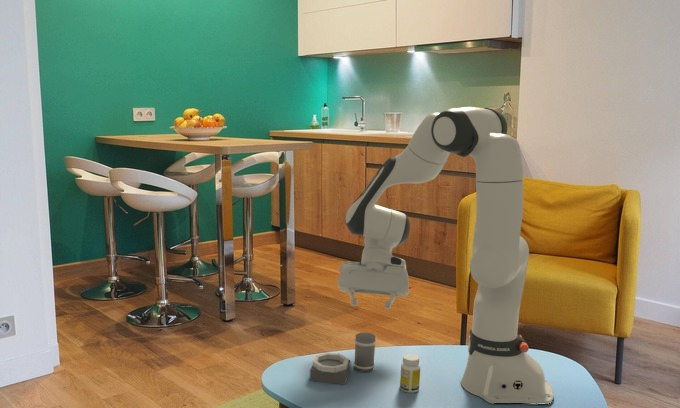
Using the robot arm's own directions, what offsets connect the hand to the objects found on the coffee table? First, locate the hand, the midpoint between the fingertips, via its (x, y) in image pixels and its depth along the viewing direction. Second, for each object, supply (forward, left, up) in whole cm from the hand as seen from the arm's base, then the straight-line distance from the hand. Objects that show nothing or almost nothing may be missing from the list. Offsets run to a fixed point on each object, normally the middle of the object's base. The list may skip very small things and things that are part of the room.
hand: (370, 306), depth 175 cm
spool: (0, +11, -14) cm, 17 cm away
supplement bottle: (-13, +20, -14) cm, 27 cm away
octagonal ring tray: (+8, +17, -14) cm, 23 cm away
